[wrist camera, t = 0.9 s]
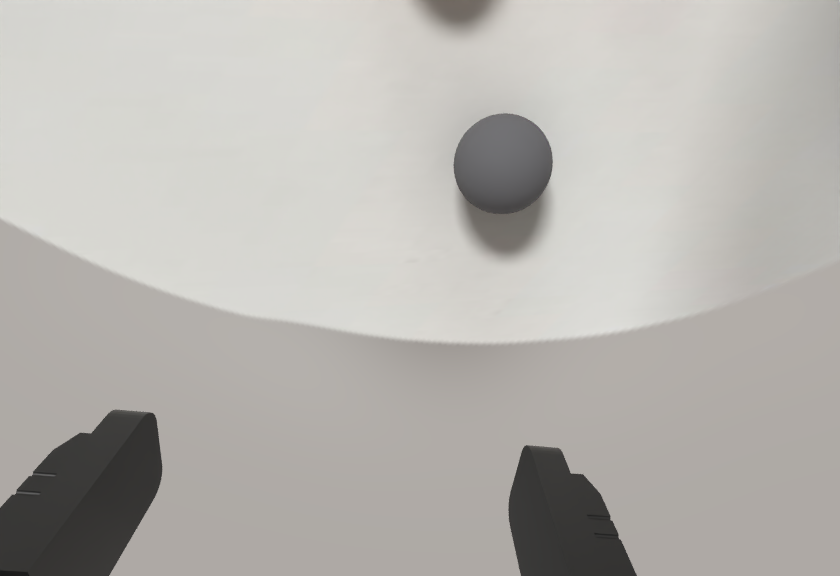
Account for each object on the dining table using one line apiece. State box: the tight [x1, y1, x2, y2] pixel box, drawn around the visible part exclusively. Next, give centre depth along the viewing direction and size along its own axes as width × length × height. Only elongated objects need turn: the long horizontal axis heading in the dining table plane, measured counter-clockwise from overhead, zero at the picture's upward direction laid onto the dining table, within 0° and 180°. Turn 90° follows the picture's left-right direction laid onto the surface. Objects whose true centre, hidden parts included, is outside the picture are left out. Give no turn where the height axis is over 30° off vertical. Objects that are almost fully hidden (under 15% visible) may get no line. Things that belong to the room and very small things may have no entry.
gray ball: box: [454, 114, 553, 214], centre depth 28 cm, size 6×6×6 cm
